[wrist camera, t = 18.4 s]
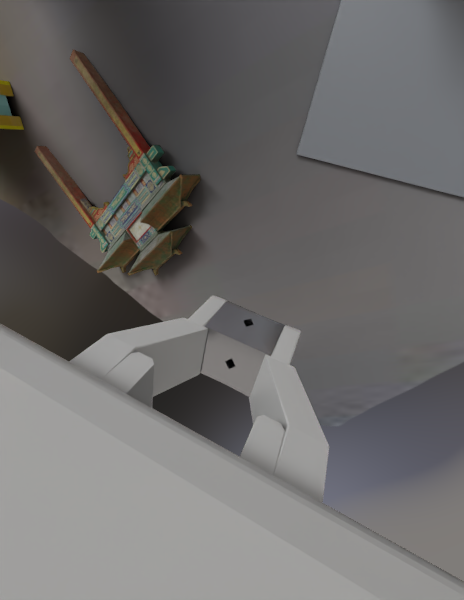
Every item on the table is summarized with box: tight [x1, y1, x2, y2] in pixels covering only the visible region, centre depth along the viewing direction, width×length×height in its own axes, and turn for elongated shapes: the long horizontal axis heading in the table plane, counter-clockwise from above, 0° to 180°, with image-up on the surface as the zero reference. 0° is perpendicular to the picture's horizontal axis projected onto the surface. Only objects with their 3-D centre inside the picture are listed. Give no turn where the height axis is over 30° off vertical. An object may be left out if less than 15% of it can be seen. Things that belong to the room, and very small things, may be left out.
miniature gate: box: [35, 50, 201, 276], centre depth 45 cm, size 27×6×30 cm
